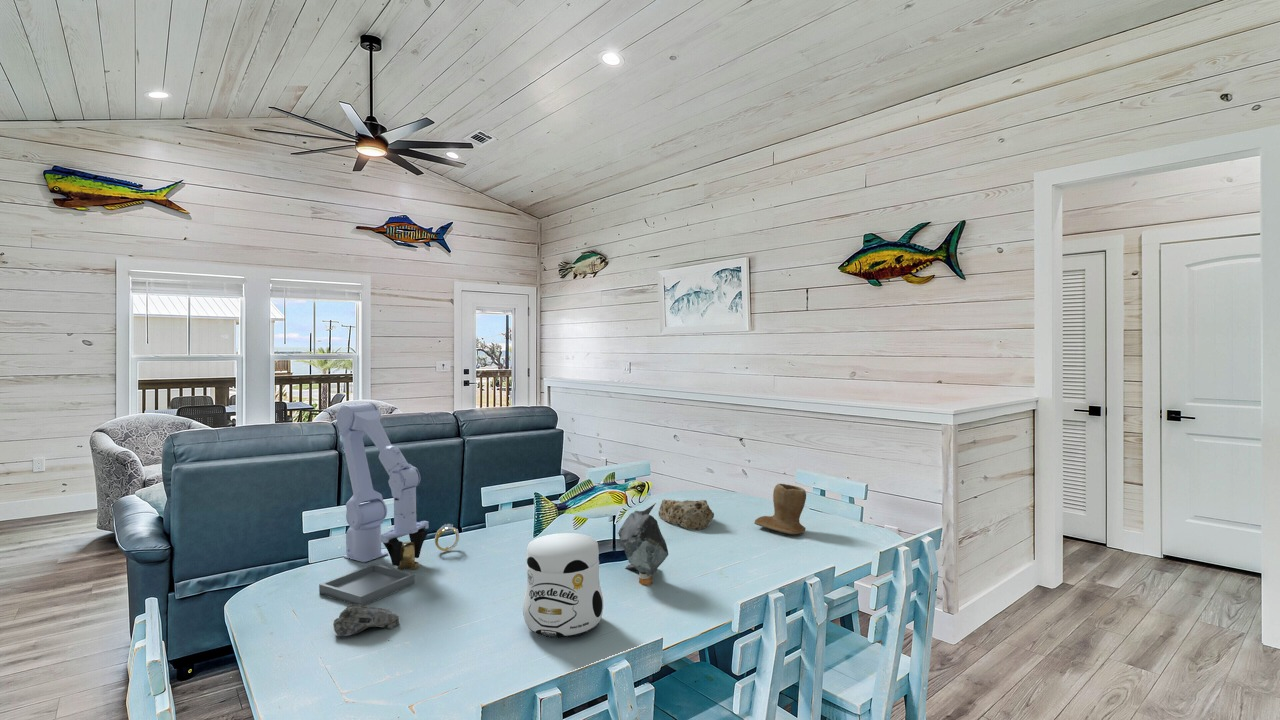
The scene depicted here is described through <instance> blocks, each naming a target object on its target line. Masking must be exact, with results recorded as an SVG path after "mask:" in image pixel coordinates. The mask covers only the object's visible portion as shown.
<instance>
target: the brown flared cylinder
mask: <svg viewBox="0 0 1280 720" xmlns="http://www.w3.org/2000/svg"><path fill="white" fill-rule="evenodd" d="M772 499H773V500H772V501H773V507H774V514H773V515H772V516H771V515H770V516H769V515H763V516H758V518H756V519H755V520H754V522H753V524H755V525H757V526H759V527H762V528H765V529H769V530H771V531H774V532H775V531H776V532H779V533H783V534H787V535H800V534H803V533H805V531H806V527H805V526H804V525H802V523H801V522H800V518H801V515H802V512H803V510H804V507H805V505H806V504H805V503H806V501H807V500H806V499H807V492H806V490H805V489H804V488H802V487H800V486H796V485H791V484H786V483H777V484H776V485H775V486H774V489H773V494H772Z"/></svg>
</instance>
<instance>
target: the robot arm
mask: <svg viewBox="0 0 1280 720" xmlns="http://www.w3.org/2000/svg"><path fill="white" fill-rule="evenodd" d="M381 417H382V413H381V411H380V409H379V407H378V406H377V404H376V403H374V402H368V403H367V402H366V403H359V404H350V405H348V404H344V405H341V406H340V408H339V410H338V411H337V413H336V416H335V418H336V422H337V423H336V424H337V428H338V431H339V432H338V433H339V435H340V436H341V441H342V445H343V449H344V456H345V460H346V465H347V470H348V474H349V480H350V483H351V488H352V493H353V494H352V496H351V497H350V498H349V500H348V501H347V502H346V503H345V506H346V514H345V518H346V519H345V520H346V523H347V524H348V526H349V527H348V529H347V531H346V532H345V533H346V534H345V549H346V550H345V551H346V552H345V553H346V554H344V555H343V558H346V559H349V558H350V560H352V561H353V560H354V561H358V562H362V563H367V562H370V561H373V560H375V559H378V558H381V557H383V556H386V555H388V554H389V558H390V561H391V564H392V566H396V567H397V566H399V565H400V552H401V547H402V543H403V542H404V541H401V540H399V538H401V537H404V536H408V537H409V540H410V541H409V542H413V543H415V559H419V558H420V555H421V552H422V547H423V544H424V542H425V539H426V537H427V536H428V531H427V529H429V528H430V527H429V525H430V524H429V523H430V522H429V521H427V520H421V521H417V487H418V486H420V483H421V479H422V478H421V473H420V472H419V471H420V470H419V469H418V468H417V467H415V466H414V465H412V464H411V463H409V462H408V460H406V458H405V456H404V455H403V453H402V451H401V449H400V448H399V447H398V446H397V445H393V444H392V443H391V441H390V439H389V437H388V435H387V433H386V431H385V428H384V427H383V425H382V423H381ZM365 434H367V436H368V438H369V439H370V440H371V442H372V443H373V444H374V446H375V447H376V448H377V450H378V451H379V454H378V460H379V461H380V463H381V464H382V466H383V468H384V470H385V472H386V473H387V474H388V476H389V479H388V481H387V483H388V486H389V488H390V491H391V496H392V498H393V524H394V525H393V528H392V529H391V530H388V531H387V532H385V533H383V534H382V531H381V530H382V525H383V523H384V520H385V519H386V518H387V514H388V507H387V504H386V502H385V501H384V498H383V495H382V493H380V492H378V491H376V490H375V489H374V485H373V483H372V482H373V481H372V477H371V473H370V467H369V462H368V457H367V453H366V449H365V443H364V439H363V437H364V435H365ZM363 502H364V503H363ZM382 544H383V546H384V547H385V548H386V550H387V551H385V550H382Z"/></svg>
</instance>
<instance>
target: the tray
mask: <svg viewBox="0 0 1280 720" xmlns="http://www.w3.org/2000/svg"><path fill="white" fill-rule="evenodd" d="M415 576H416V574H415V573H412V572H408V571H404V570H402V569H398V568H397V569H396V568H392V567H388V566H384V565H380V564H378V563H373V564H370V565H367V566H363V567H361V568H358V569H356V570H354V571H351V572H348V573H346V574H343V575H341V576H337V577H335V578H333V579H330V580H327V581H325V582H322V583H320V584H319V586H318V587H319V588H318V592H319V595H322V596H325V597H328V598H331V599H334V600H338V601H340V602H344V603H347V604H349V605H351V604H357V605H363V606H367V605H369V604H371V603H374V602H376V601H378V600H381V599H383V598H386V597H387V596H389V595H392V594H394V593H396V592H398V591H402V590H403V589H406V588H408V587H411V586H412V585H415V584H416V577H415Z"/></svg>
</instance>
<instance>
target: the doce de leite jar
mask: <svg viewBox="0 0 1280 720" xmlns="http://www.w3.org/2000/svg"><path fill="white" fill-rule="evenodd" d="M598 543H599V542H598V541H597V540H596V539H595V538H594V537H592V536H590V535H588V534H587V535H586V534H583V533H575V532H574V533H573V532H560V533H552V534H551V533H550V534H547V535H546V534H545V535H543V536H539V537H536V538H534V539H533V540H531V541H530V542H529V543H528V545H527V548H526V556H525V557H526V558H525V559H526V560H525V561H526V588H525V593H524V597H523V600H522V612H523V613H522V614H523V619H524V623H525V625H526V627H527V628H528V629H529V630H530V631H532V632H533V633H535V634H536V635H538V636H542V637H544V638H545V637H546V638H549V639H550V638H553V639H563V638H566V639H567V638H574V637H577V636H581V635H584V634H587V633H588V632H590V631H592V630H593V629H594V628H596V626H597V625H599V623H600V621H601V619H602V617H603V611H604V596H603V592H602V589H601V585H600V560H599V558H600V557H599V555H600V553H599V552H600V551H599V544H598Z"/></svg>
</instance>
